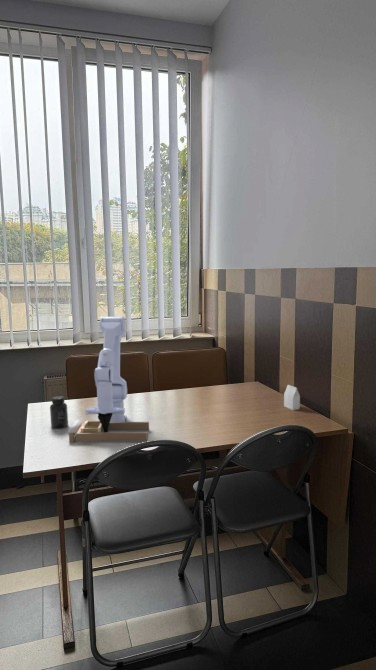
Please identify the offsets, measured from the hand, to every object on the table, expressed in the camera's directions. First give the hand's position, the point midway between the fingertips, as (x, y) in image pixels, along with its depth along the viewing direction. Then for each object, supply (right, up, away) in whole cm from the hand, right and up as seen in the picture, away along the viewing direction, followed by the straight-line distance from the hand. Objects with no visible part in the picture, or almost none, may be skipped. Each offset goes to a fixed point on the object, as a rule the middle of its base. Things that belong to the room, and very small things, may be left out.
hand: (106, 432), depth 184 cm
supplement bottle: (-21, 0, +12) cm, 24 cm away
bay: (+1, -2, 0) cm, 2 cm away
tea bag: (+79, +4, +35) cm, 86 cm away
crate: (-5, -2, 0) cm, 5 cm away
